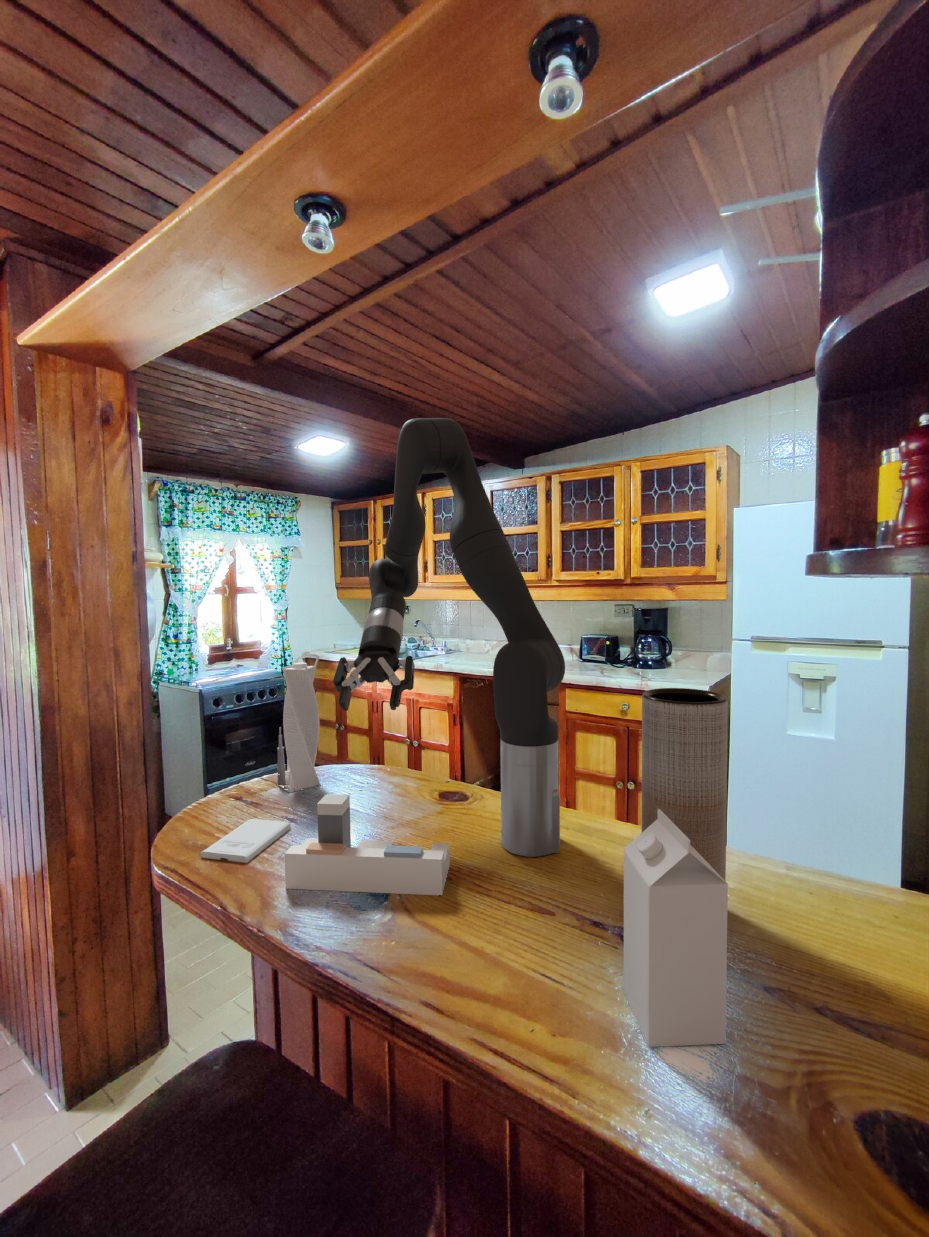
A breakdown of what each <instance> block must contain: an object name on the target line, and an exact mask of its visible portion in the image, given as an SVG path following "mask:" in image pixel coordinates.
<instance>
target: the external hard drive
mask: <svg viewBox="0 0 929 1237" xmlns="http://www.w3.org/2000/svg"><path fill="white" fill-rule="evenodd" d="M291 826H292V824H291V822H288V821H280V820H271V819H270V820H269V819H268V820H267V819H259V818H257V819H256V818H250V819H248V820H247V821H245V822H244V823H243V824H240V825H239V826H238V827H236V828H235V829H233V830H231V831H230V832H229V833H228V834H226V835H224V836H223V837H221V838H220V839H219V840H217V841H216V842H215V843H214V842H213V844H211V845H209V846H208V847H207V848H205V849H204V850H202V851H201V852H200V858H203V859H212V860H224V861H229V862H235V863H236V862H237V863H244V864H245V863H248V862H250V861H251V860H252V859H254V858H255V857H256V856H257V855H259V854H260V853H262V852H263V851H264V850H265V849H267V848H268V847H269V846H270V845H271V844H273V843H274V842H275V841H277V840H278V839H279V838H280V837H282V836H283V835H284V834H286V833H287V832H288V831H290V829H291V828H292V827H291Z"/></svg>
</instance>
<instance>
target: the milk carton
mask: <svg viewBox="0 0 929 1237" xmlns="http://www.w3.org/2000/svg"><path fill="white" fill-rule="evenodd" d="M623 850H624V851H623V992H624V995H625V997H626V999H627V1002H628V1004H629V1006H630V1009H631V1011H632V1013H633V1015H634V1018H635V1020H636V1022H637V1025H638V1027H639V1029H640V1031H641V1034H642V1036H643V1038H644V1041H645V1043H646V1045H647V1046H648V1047H649V1048H650V1047H651V1048H652V1047H654V1048H655V1047H677V1046H679V1047H680V1046H697V1045H698V1046H699V1045H703V1046H704V1045H722V1044H726V1041H727V976H728V975H727V968H728V967H727V965H728V964H727V962H728V961H727V960H728V897H729V896H728V888H729V887H728V885H729V883H728V882H727V881H725V880H724V879H723V878H722V877H721V876H720V875H719V874H718V873H717V872H716V871H715V870H714V869H713V868H712V867H711V866H710V865H709V864H708V862H707V861H706V860H705V859H704V858H703V857H702V856H701V855H700V854H699V853H698V852H697V851H696V850H695V849H694V848H693V847H692V846H691V845H690V840H689V839H688V838H687V837H686V836H685V835H684V834H683V832H682V831H681V830H680V829H679V828H678V827H677V826H676V825H675V824H674V823H673V822H672V821H671V820H670V819H669V818H668V817H667V816H666V815H665V814H664V813H663V812H662V811H661V810H660V809H658V819H657V820H656V821H655V822H653V823H652V824H651V825H650V826H649V827H648V828H647V829H646V830H644V831H643V832H642V831H641V833H640V834H638V836H636V837H635V838H634V839H633V840H631V842H629V843H628V844H627V845H626V846H625V847H624V848H623Z"/></svg>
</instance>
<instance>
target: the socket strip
mask: <svg viewBox="0 0 929 1237" xmlns="http://www.w3.org/2000/svg"><path fill="white" fill-rule="evenodd" d="M450 847H451V846H450V843H449V842H432V845H431V848H430V849H423V846H414V845H412V846H411V845H395V844H394V840H373V839H372V840H369V839H360V842H358V844H357V845H356V847H355V846H354V847H353V846H351V847H346V844H335V843H318V838H317V837H316V838H315V837H314V838H313V837H311V838H310V837H309V838H308V837H307V838H305V839H304V841H303V842H302V844H300V845H296V844H295V845H290V847H289V848H287V850H286V851H285V852H284V874H285V875H284V876H285V878H284V881H285V889H287V890H289V889H290V890H307V891H308V890H311V891H312V890H313V891H327V892H329V891H330V892H352V893H353V892H354V893H371V894H372V893H374V894H375V893H376V894H394V895H395V894H397V895H399V894H400V895H416V896H417V895H418V896H419V895H420V896H421V895H422V896H439V895H441V896H443V895H444V891H443V890H445V887H446V883H445V882H447V879H446V878H448V875H449V871H450V868H451V864H450V863H451V858H450V857H451V856H450V854H451V853H450V852H451V850H450V849H451V848H450ZM449 867H450V868H449ZM448 870H449V871H448ZM447 874H448V875H447ZM444 886H445V887H444ZM441 896H440V897H441Z"/></svg>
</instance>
